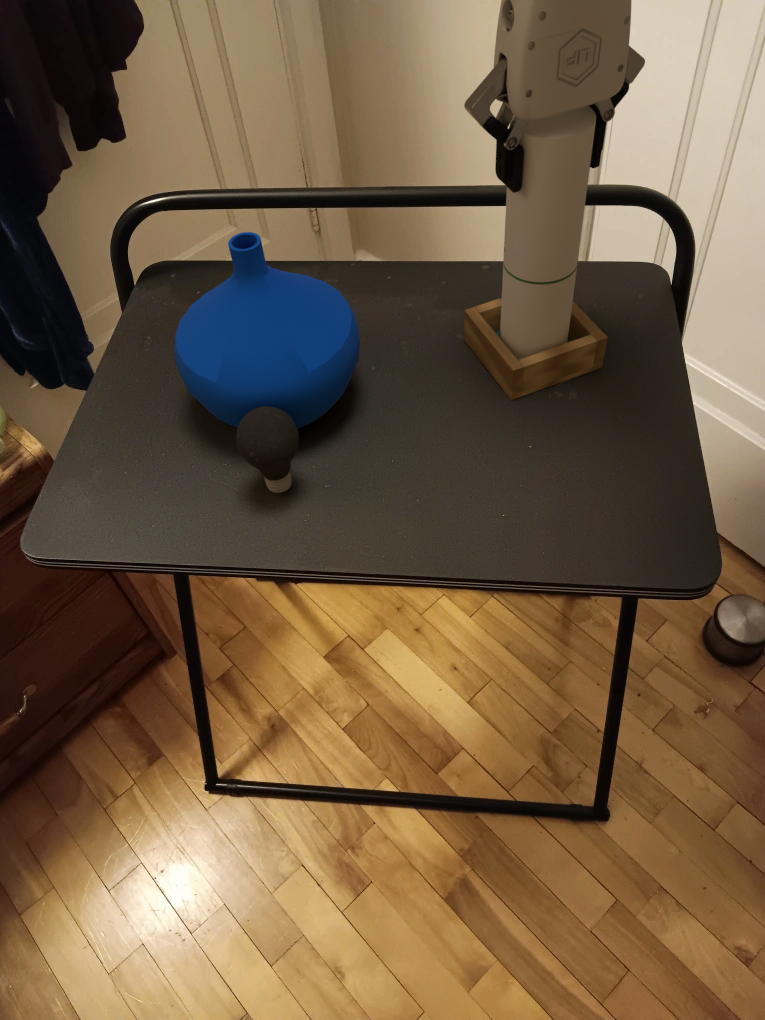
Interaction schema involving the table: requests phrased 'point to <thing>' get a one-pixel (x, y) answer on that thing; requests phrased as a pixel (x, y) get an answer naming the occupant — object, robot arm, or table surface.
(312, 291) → the vase
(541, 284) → the cylindrical container
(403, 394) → the table surface
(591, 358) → the square wooden tray
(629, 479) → the table surface
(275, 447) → the light bulb
